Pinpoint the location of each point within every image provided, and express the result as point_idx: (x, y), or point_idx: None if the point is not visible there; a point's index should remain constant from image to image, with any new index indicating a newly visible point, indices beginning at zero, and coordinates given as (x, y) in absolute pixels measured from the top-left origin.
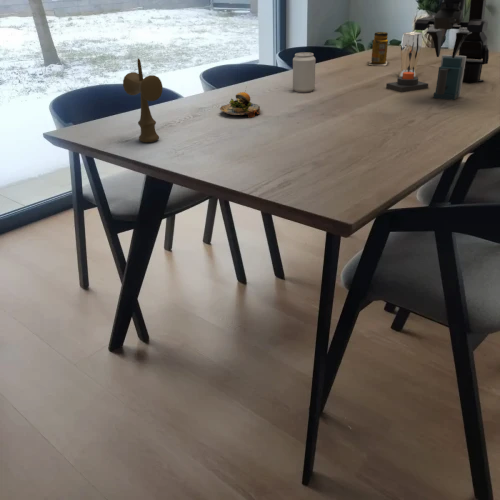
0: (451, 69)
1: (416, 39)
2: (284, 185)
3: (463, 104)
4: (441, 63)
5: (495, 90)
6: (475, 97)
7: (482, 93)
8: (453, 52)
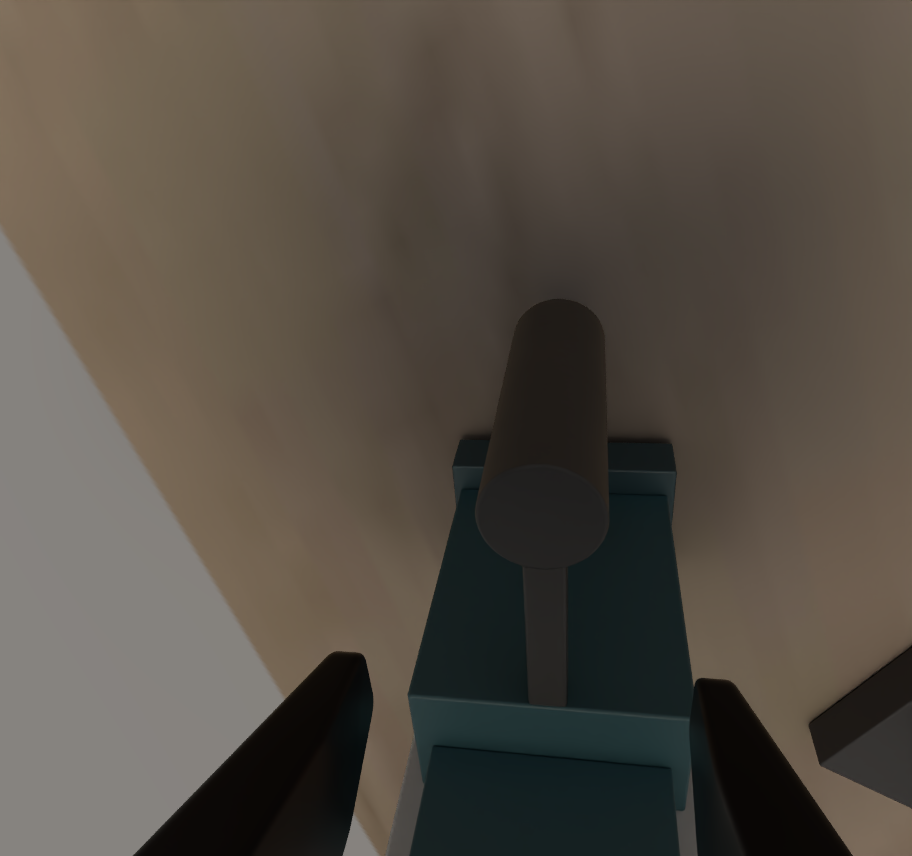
0: (510, 688)
1: None
2: None
3: (334, 340)
4: None
5: None
6: (358, 592)
7: None
8: (299, 736)
